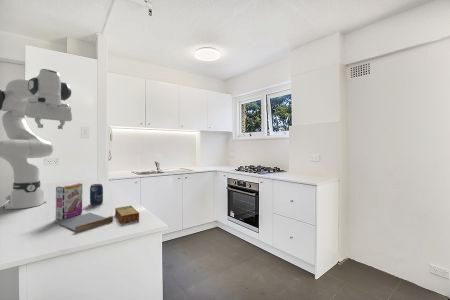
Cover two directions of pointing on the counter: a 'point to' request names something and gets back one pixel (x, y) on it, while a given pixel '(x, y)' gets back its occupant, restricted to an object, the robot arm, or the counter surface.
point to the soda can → (96, 194)
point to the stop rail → (93, 224)
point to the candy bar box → (68, 200)
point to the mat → (78, 220)
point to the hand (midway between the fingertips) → (50, 128)
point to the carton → (126, 214)
